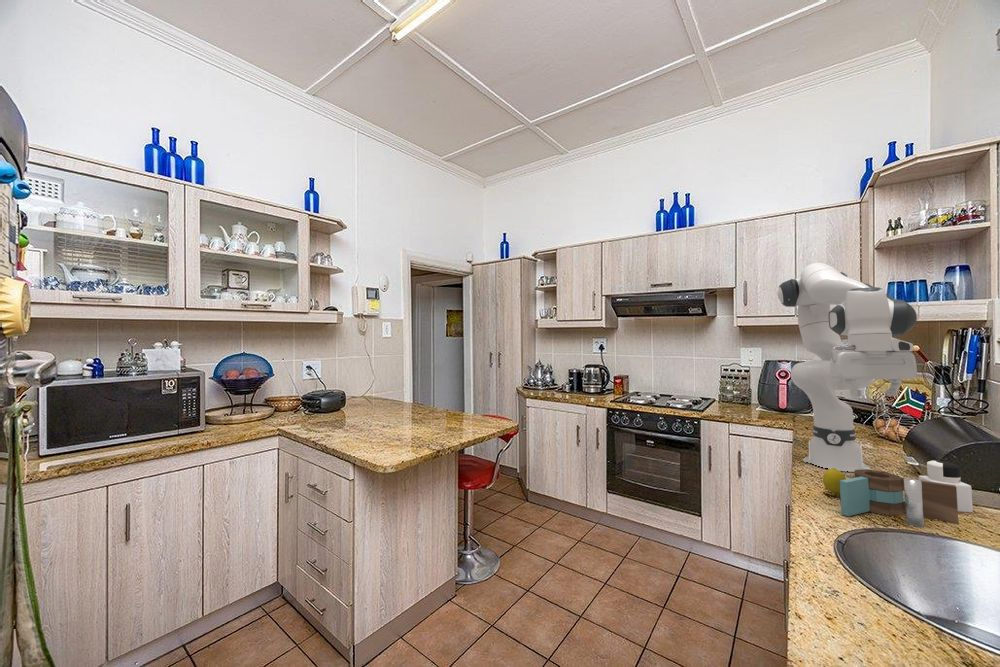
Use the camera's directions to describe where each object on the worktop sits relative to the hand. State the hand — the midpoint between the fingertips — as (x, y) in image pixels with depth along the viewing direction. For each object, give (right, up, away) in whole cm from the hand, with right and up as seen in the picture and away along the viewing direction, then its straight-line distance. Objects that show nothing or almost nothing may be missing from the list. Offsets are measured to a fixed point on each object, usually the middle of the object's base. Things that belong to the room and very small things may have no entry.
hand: (874, 396), depth 105 cm
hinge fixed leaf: (+6, -31, -2) cm, 31 cm away
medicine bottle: (+21, -31, +2) cm, 38 cm away
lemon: (-1, -32, +11) cm, 33 cm away
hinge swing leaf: (-2, -31, -1) cm, 31 cm away
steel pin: (+2, -31, -9) cm, 32 cm away
